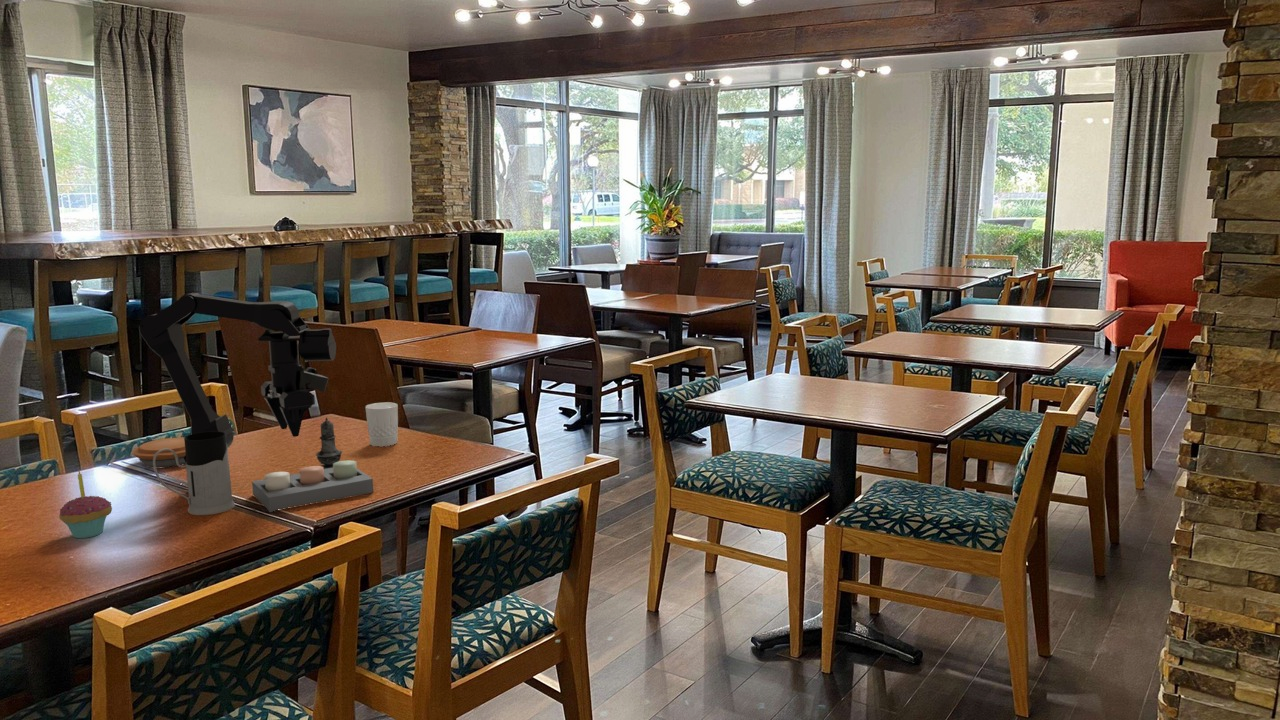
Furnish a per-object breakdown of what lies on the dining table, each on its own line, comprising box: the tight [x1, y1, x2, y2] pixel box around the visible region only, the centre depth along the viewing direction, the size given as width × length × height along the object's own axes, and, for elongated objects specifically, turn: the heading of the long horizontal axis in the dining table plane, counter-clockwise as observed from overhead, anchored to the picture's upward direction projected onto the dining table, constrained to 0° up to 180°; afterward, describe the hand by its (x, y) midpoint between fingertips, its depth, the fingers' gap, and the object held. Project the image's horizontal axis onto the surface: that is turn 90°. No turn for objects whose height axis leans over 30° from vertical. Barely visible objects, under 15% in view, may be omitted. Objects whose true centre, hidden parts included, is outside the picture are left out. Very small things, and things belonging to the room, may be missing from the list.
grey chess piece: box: [315, 417, 343, 469], centre depth 214 cm, size 6×6×12 cm
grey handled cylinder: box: [153, 431, 236, 516], centre depth 184 cm, size 9×14×15 cm, turn 132°
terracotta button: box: [299, 465, 325, 486], centre depth 195 cm, size 5×5×3 cm
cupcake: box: [58, 469, 113, 539], centre depth 172 cm, size 9×8×12 cm
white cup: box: [365, 401, 399, 448], centre depth 236 cm, size 8×8×10 cm
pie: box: [132, 436, 186, 468], centre depth 222 cm, size 16×16×5 cm
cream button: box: [264, 471, 291, 492], centre depth 191 cm, size 5×5×3 cm
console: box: [251, 468, 374, 513], centre depth 195 cm, size 21×14×3 cm, turn 125°
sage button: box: [333, 460, 358, 480], centre depth 199 cm, size 5×5×3 cm
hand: (289, 432), depth 199 cm, fingers open, 8 cm apart
